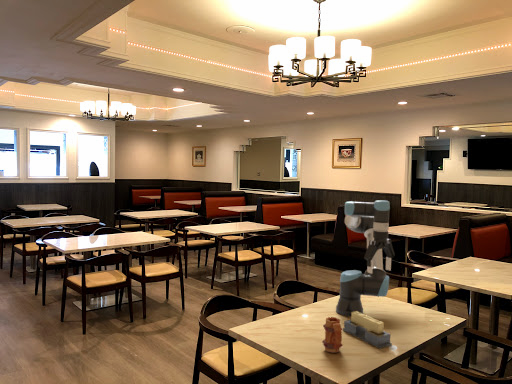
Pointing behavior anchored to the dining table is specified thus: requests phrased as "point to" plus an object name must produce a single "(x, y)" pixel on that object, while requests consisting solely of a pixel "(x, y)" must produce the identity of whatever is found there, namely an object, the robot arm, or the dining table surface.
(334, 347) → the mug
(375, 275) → the robot arm
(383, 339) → the grey double socket base
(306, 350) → the dining table surface
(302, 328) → the dining table surface
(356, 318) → the tan wooden block
